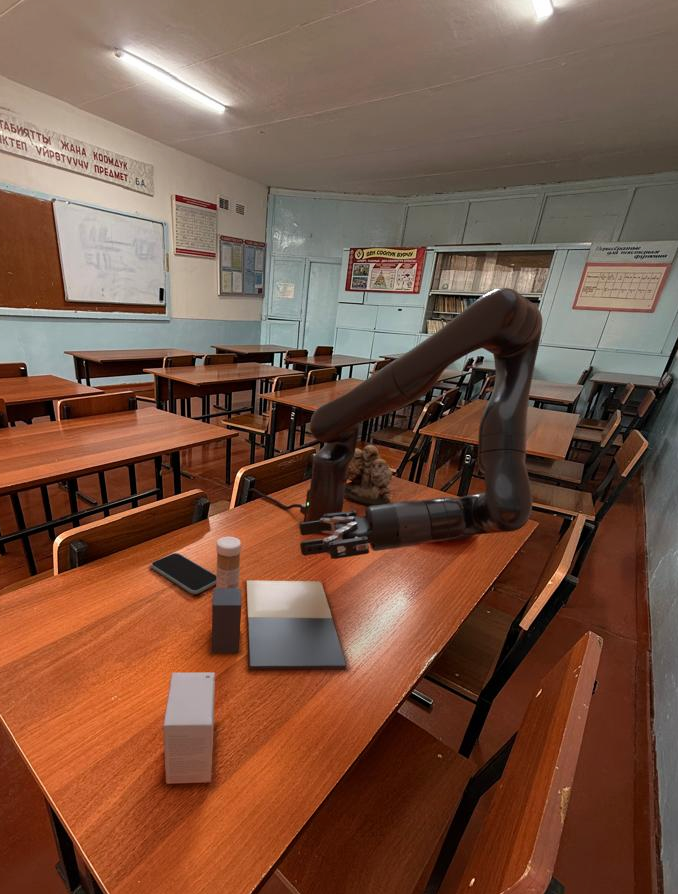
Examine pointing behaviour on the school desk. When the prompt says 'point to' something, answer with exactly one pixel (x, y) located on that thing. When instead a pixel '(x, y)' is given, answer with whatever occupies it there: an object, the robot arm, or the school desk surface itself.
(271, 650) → the board
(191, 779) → the small box
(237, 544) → the sprinkles bottle
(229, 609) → the slate block
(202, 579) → the smartphone
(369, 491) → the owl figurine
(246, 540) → the school desk surface
